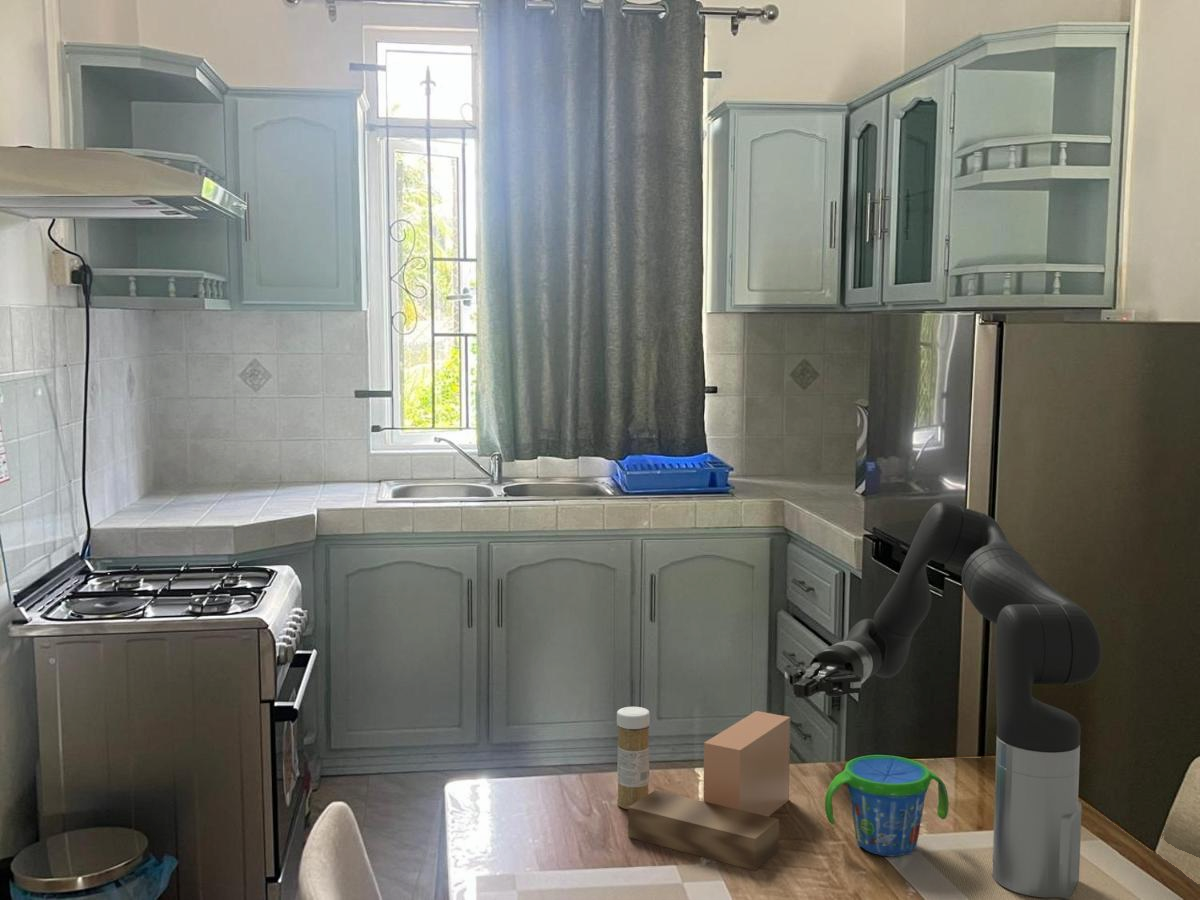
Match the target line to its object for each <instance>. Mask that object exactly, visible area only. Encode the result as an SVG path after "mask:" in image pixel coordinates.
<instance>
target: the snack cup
mask: <svg viewBox="0 0 1200 900" xmlns="http://www.w3.org/2000/svg"><path fill="white" fill-rule="evenodd" d="M844 766H845V767H844V770H842V771H841V772H839V773H838V774H837V775H834V778H833V779H832V780H831V782H830V783H829V786H828V788H827V790H826V795H825V800H824V810H825V815H826V818H827V820H828V822H829V823H830V824H831V825H832V826H833V825H835V819H834V811H833V810H834V809H833V807H834V806H833V803H832V802H833V797H834V794H835V793H836V792H837V791H838V790H839V788H841V786H842V785H844V784H846V787H847V790H848V794H849V798H850V799H849V800H850V804H851V815H852V819H853V820H852V821H853V827H854V829H853V830H854V835H855V838H856V843H857V845H858V846H859V847H860V848H863V849H864V850H866V851H867V852H870V853H872V854H874V855H878V856H882V857H886V856H887V857H898V856H902V855H910V854H912V852H913V851H914V850H915V848H916V847H917V845H918V840H919V836H920V835H919V834H920V830H921V823H922V819H923V811H924V806H925V799H926V795H927V791H928V789H929V787H930V784H931V783H930V782H931V781H932V780H934V781H936V782H937V791H938V792H937V793H938V795H937V796H938V804H937V809H936V810H937V813H936V814H937V816H938V817H939V818H940V819H941V820H945V819H947V818H948V814H949V809H950V808H949V795H948V789H947V787H946V785H945V783H944V782H943V780H942V779H941V778H940V777H939V776H938V775H937V774H936V773H935V772H934V771H932V770H930V769H928V768H927V766H925V765H923V764H922V763H921V762H919V761H916V760H913V759H910V758H908V757H907V758H906V757H901V756H896V755H890V754H889V755H888V754H887V755H886V754H871V755H870V754H869V755H864V756H858V757H856V758H853V759H850V760H849V761H848V762H846V764H845V765H844Z"/></svg>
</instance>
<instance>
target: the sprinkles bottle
mask: <svg viewBox="0 0 1200 900" xmlns="http://www.w3.org/2000/svg"><path fill="white" fill-rule="evenodd" d="M650 716H651V715H650V711H649V709H647V708H645V707H641V706H626V707H622V708H620V709H618V710H617V711H616V725H617V728H618V729H617V800H616V801H617V805H618V806H619V807H620V808H621V809H622V808H623V809H625V810H628V807H630V806H631V805H633V804H634V803H636V802H637V801H639V800H641V799H642V798H644V797H645V796H647V795H648V794H649V784H650V745H649V744H650V743H649V733H650V732H649V731H650V730H649V728H650V725H651V724H650V722H651V717H650Z"/></svg>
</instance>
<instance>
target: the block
mask: <svg viewBox="0 0 1200 900" xmlns="http://www.w3.org/2000/svg"><path fill="white" fill-rule="evenodd" d="M790 744H791V717H790V716H787V715H780V714H774V713H771V712H764V711H759V710H755V711H754V712H752V713H749V714H748V715H747V716H746V717H744V718H743V719H740V720H739V721H738V722H735V723H734V724H733V725H730V726H729V727H727V728H726V729H724V730H722V731H720V732H719V733H717V734H716V735H715V736H712V737H711V738H709V739H708V740H706V741H705V742H703V801H704V802H708V803H713V804H717V805H721V806H725V807H729V808H734V809H738V810H742V811H746V812H751V813H755V814H759V815H763V816H768V817H771V815H773V814H774V813H775V812H776V811H777V810H779V809H780V808H781V807H782V806H783V805H785V804H786V803H788V801H790V758H791V757H790V756H791V755H790V753H791V747H790V746H791V745H790Z"/></svg>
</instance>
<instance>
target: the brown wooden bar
mask: <svg viewBox="0 0 1200 900" xmlns="http://www.w3.org/2000/svg"><path fill="white" fill-rule="evenodd" d="M627 810H628V813H627V814H628V815H627V816H628V818H627V819H628V821H627V827H628V828H627V830H628V831H627V832H628V833H627V834H628V835H627V837H628V838H630V839H634V840H638V841H642V842H645V843H648V844H652V845H656V846H660V847H664V848H668V849H672V850H675V851H679V852H683V853H686V854H692V855H694V856H697V857H702V858H706V859H710V860H713V861H716V862H721V863H725V864H728V865H731V866H732V865H733V866H735V867H740V868H743V869H747V870H751V871H754V872H755V871H757V869H759V868H760V867H761V866H762V865H763V864H765V863H766V862H767V861H768V860H769V859H770V858H772V857H773V855H775V854H776V853H777V852H778V851H779V850H780V849H779V847H780V841H779V840H780V819H779V818H775V817H771V816H769V817H768V816H763V815H759V814H755V813H751V812H746V811H742V810H738V809H734V808H729V807H725V806H721V805H717V804H713V803H708V802H704V800H699V799H695V798H691V797H686V796H683V795H679V794H678V795H677V794H673V793H669V792H665V791H662V790H656V789H655V790H653V791H652V792H650V793H648V795H647V796H645V797H644V798H642V799H641V800H639V801H637V802H636V803H634V804H633V805H631V806H630V807H628V809H627Z"/></svg>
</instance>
